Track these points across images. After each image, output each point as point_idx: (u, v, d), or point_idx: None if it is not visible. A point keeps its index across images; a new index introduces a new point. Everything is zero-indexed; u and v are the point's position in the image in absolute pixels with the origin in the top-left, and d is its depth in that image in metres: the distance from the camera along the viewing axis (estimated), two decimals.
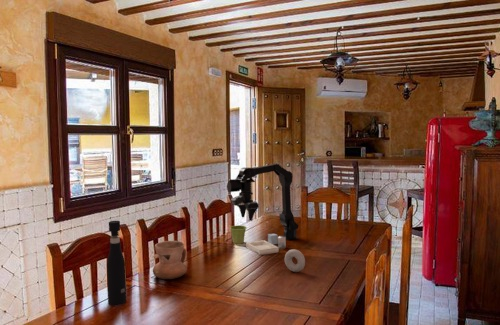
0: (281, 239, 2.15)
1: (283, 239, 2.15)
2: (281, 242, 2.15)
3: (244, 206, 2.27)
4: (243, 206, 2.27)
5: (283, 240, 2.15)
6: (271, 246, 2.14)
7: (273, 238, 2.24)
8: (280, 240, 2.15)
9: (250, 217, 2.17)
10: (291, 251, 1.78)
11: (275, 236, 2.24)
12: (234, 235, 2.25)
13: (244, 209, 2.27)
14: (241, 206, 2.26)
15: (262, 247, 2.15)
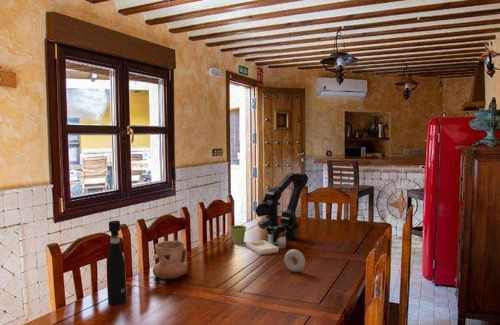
0: (281, 239, 2.15)
1: (283, 239, 2.15)
2: (281, 242, 2.15)
3: (272, 229, 2.28)
4: (271, 229, 2.28)
5: (283, 240, 2.15)
6: (271, 246, 2.14)
7: None
8: (280, 240, 2.15)
9: (275, 239, 2.23)
10: (291, 251, 1.78)
11: None
12: (234, 235, 2.25)
13: (272, 232, 2.28)
14: (269, 229, 2.27)
15: (262, 247, 2.15)
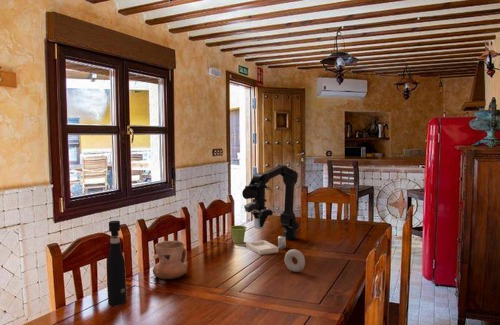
0: (281, 239, 2.15)
1: (283, 239, 2.15)
2: (281, 242, 2.15)
3: (259, 214, 2.19)
4: (258, 214, 2.19)
5: (283, 240, 2.15)
6: (271, 246, 2.14)
7: None
8: (280, 240, 2.15)
9: (261, 224, 2.14)
10: (291, 251, 1.78)
11: None
12: (234, 235, 2.25)
13: (259, 217, 2.19)
14: (256, 214, 2.19)
15: (262, 247, 2.15)
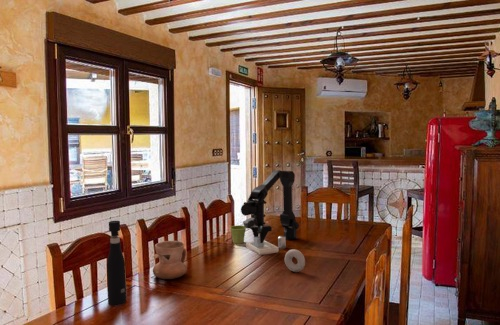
0: (281, 239, 2.15)
1: (283, 239, 2.15)
2: (281, 242, 2.15)
3: (257, 228, 2.20)
4: (256, 228, 2.20)
5: (283, 240, 2.15)
6: (271, 246, 2.14)
7: (259, 241, 2.15)
8: (280, 240, 2.15)
9: (261, 240, 2.13)
10: (291, 251, 1.78)
11: None
12: (234, 235, 2.25)
13: (257, 232, 2.20)
14: (254, 228, 2.19)
15: (262, 247, 2.15)
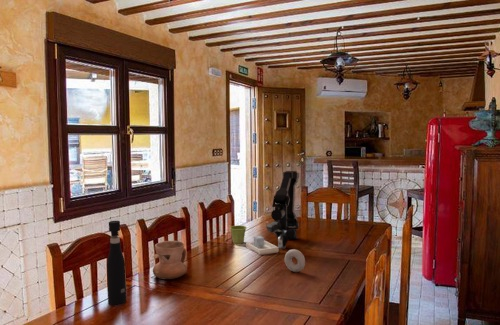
0: (281, 239, 2.15)
1: None
2: (281, 242, 2.15)
3: (281, 233, 2.19)
4: (280, 233, 2.19)
5: None
6: (271, 246, 2.14)
7: (259, 241, 2.15)
8: (280, 240, 2.15)
9: (284, 243, 2.14)
10: (291, 251, 1.78)
11: (261, 239, 2.15)
12: (234, 235, 2.25)
13: None
14: (278, 233, 2.18)
15: (262, 247, 2.15)
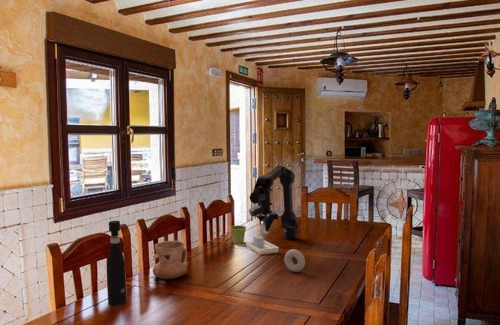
0: (264, 224, 2.08)
1: None
2: (264, 227, 2.08)
3: (264, 217, 2.12)
4: (263, 217, 2.12)
5: None
6: (271, 246, 2.14)
7: (259, 241, 2.15)
8: (263, 225, 2.08)
9: (267, 228, 2.07)
10: (291, 251, 1.78)
11: (261, 239, 2.15)
12: (234, 235, 2.25)
13: None
14: (261, 217, 2.12)
15: (262, 247, 2.15)
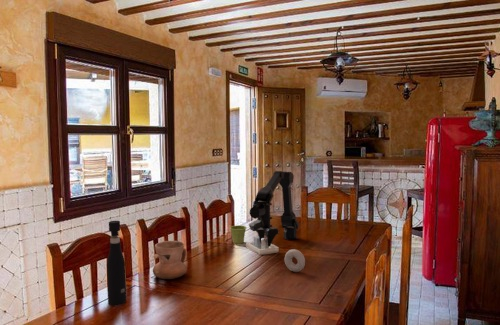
0: (264, 241, 2.08)
1: (266, 241, 2.09)
2: (264, 244, 2.09)
3: (263, 231, 2.14)
4: (262, 231, 2.14)
5: (266, 242, 2.09)
6: (271, 246, 2.14)
7: (259, 241, 2.15)
8: (263, 242, 2.09)
9: (269, 243, 2.06)
10: (291, 251, 1.78)
11: None
12: (234, 235, 2.25)
13: (263, 234, 2.14)
14: (260, 231, 2.14)
15: None
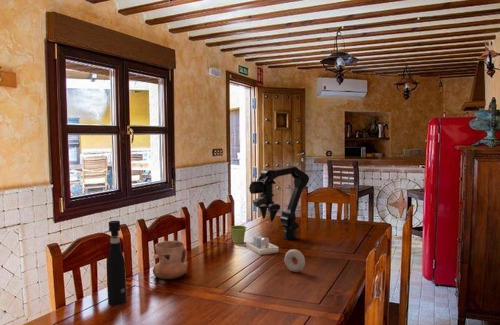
0: (264, 241, 2.08)
1: (266, 241, 2.09)
2: (264, 244, 2.09)
3: (265, 207, 2.30)
4: (264, 207, 2.30)
5: (266, 242, 2.09)
6: (271, 246, 2.14)
7: (259, 241, 2.15)
8: (263, 242, 2.09)
9: (271, 218, 2.21)
10: (291, 251, 1.78)
11: None
12: (234, 235, 2.25)
13: (265, 210, 2.30)
14: (262, 207, 2.30)
15: None
